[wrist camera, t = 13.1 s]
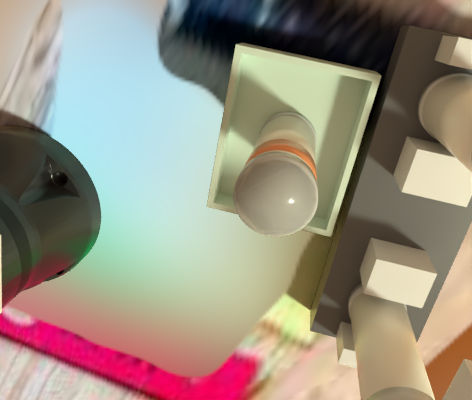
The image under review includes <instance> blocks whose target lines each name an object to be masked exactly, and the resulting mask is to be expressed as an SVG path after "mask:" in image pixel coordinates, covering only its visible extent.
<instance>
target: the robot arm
mask: <svg viewBox="0 0 472 400" xmlns="http://www.w3.org/2000/svg"><path fill="white" fill-rule="evenodd" d="M100 224H101V209H100V203H99V198H98V194H97V191H96V188H95V186H94V184H93V182H92V180H91V178H90V176H89V174H88V173H87V171H86V170H85V168H84V167H83V165H82V164H81V163H80V161H78V159H77V158H76V157H75V156H74V155H73V154H72V153H71V152H70V151H69V150H68V149H67V148H65V147H64V146H63V145H62V144H60V143H59V142H58V141H56V140H54V139H53V138H51V137H49V136H47V135H45V134H43V133H41V132H39V131H36V130H33V129H30V128H25V127H20V126H0V313H1V312H2V308H3V307H5V306H6V305H7V304H8V303H9V302H10V301H11V300H12V299H13V298H14V297H15V296H16V295H17V294H18V293H20V292H21V291H24V290H27V289H29V288H32V287H34V286H36V285H38V284H40V283H42V282H44V281H49V280H52V279H55V278H57V277H59V276H62V275H64V274H65V273H67V272H68V271H70V270H71V269H72V268H74V267H75V266H76V265H77V264H78V263H79V262H80V261H81V260H82V259H83V258H84V257H85V256H86V255H87V254H88V253H89V251H90V250H91V249H92V247H93V245H94V244H95V242H96V240H97V237H98V234H99V230H100ZM442 400H472V361H470V360H467V359H464V360H463V362H462V364H461V366H460V368H459V369H458V371H457V373H456V375H455V377H454V379H453V381H452V383H451V384H450V386H449V388H448V390H447V392H446V394H445V395H444V397H443V399H442Z"/></svg>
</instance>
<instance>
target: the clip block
mask: <svg viewBox="0 0 472 400" xmlns="http://www.w3.org/2000/svg"><path fill="white" fill-rule="evenodd" d="M454 72H461V73H466V74H470V75H472V38H470V37H465V36H460V35H455V34H450V33H445V32H441V31H436V30H431V29H426V28H421V27H416V26H411V25H401V27H400V31H399V34H398V37H397V40H396V43H395V46H394V49H393V53H392V56H391V59H390V62H389V65H388V68H387V71H386V75H385V78H384V81H383V84H382V87H381V90H380V93H379V97H378V100H377V103H376V106H375V109H374V112H373V115H372V119H371V122H370V125H369V128H368V131H367V134H366V137H365V141H364V144H363V147H362V150H361V153H360V156H359V160H358V163H357V166H356V169H355V172H354V175H353V178H352V182H351V185H350V188H349V191H348V194H347V197H346V200H345V204H344V207H343V210H342V213H341V216H340V219H339V222H338V226H337V229H336V232H335V235H334V238H333V241H332V244H331V248H330V251H329V254H328V257H327V260H326V263H325V266H324V270H323V273H322V276H321V279H320V282H319V285H318V289H317V292H316V295H315V298H314V301H313V304H312V307H311V311H310V331H313V332H317V333H321V334H325V335H328V336H332V337H336V341H337V355H338V363H339V364H342V365H346V366H350V367H354V368H357V363H356V355H355V347H354V339H353V331H352V323H351V319H350V316H349V309H348V298H349V295H350V293H351V291H352V290H353V289H354V288H355V287H356V286H357V285H359V284H360V283H362V286H363V292H364V294H367V295H371V296H375V297H379V298H383V299H387V300H391V301H395V302H399V303H402V304H406V307H407V314H408V317H409V320H410V323H411V327H412V330H413V333H414V336H415V339H416V342H417V341H418V339H419V337H420V334H421V332H422V330H423V328H424V326H425V323H426V321H427V319H428V317H429V315H430V312H431V310H432V308H433V306H434V304H435V301H436V299H437V297H438V295H439V293H440V290H441V288H442V286H443V284H444V281H445V279H446V277H447V275H448V273H449V270H450V268H451V266H452V264H453V262H454V259H455V257H456V255H457V253H458V251H459V248H460V246H461V244H462V242H463V240H464V237H465V235H466V233H467V231H468V228H469V226H470V224H471V222H472V172H471V171H470V170H468V169H467V168H466V167H465V166H464V165H463V164H462V163H461V162H460V161H459V160H458V159H457V158H456V157H455V156H454V155H453V154H452V153H451V152H450V151H449V150H448V149H446V148H445V147H444V146H443V145H442V144H441V143H440V142H439V141H438V140H437V139H435V138H434V137H432V136H431V135H430V134H429V133H428V132H426V131H425V129H424V128H423V127H422V126H421V124H420V122H419V120H418V116H417V104H418V100H419V98H420V95H421V93H422V92H423V90H424V89H425V88H426V86H427V85H428V84H429V83H431V82H432V81H433V80H435V79H436V78H438V77H440V76H442V75H445V74H448V73H454Z"/></svg>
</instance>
